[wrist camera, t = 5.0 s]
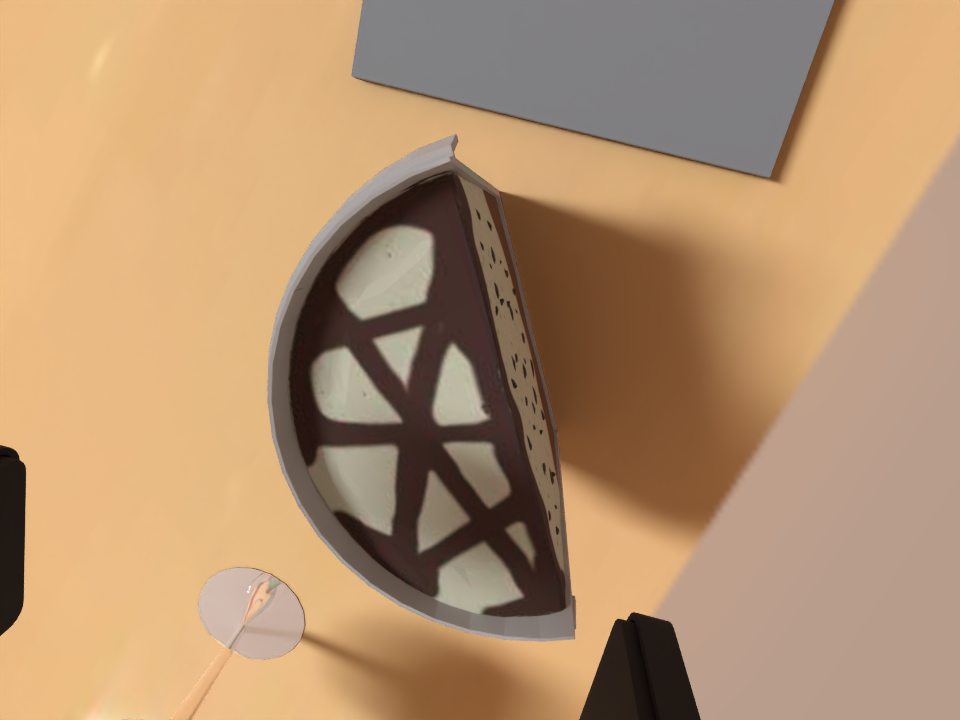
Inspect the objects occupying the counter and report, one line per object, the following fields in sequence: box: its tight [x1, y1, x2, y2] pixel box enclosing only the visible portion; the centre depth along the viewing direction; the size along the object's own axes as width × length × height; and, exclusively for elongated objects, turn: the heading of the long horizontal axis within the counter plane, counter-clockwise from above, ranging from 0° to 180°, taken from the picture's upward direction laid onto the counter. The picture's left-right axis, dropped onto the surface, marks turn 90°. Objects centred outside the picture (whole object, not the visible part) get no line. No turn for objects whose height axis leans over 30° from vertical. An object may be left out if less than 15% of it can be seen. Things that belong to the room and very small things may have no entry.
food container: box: [267, 134, 576, 642], centre depth 19 cm, size 12×6×10 cm, turn 15°
